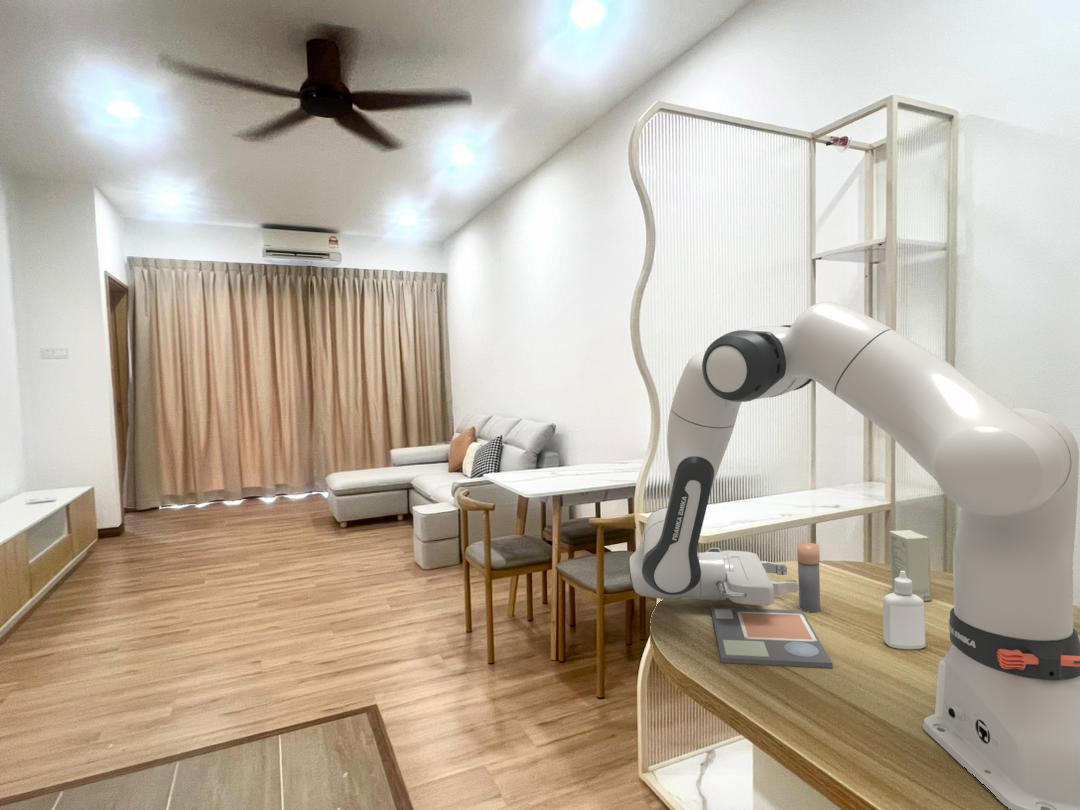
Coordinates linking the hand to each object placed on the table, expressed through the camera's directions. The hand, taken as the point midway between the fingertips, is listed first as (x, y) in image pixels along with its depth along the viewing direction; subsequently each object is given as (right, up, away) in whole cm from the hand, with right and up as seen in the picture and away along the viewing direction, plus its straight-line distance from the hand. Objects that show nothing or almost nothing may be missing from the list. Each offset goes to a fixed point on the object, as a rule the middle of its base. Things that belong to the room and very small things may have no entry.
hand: (791, 577), depth 111 cm
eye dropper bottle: (+11, -6, -16) cm, 21 cm away
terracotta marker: (+3, -6, 0) cm, 7 cm away
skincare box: (+25, -5, +3) cm, 25 cm away
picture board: (-9, -7, -11) cm, 16 cm away
